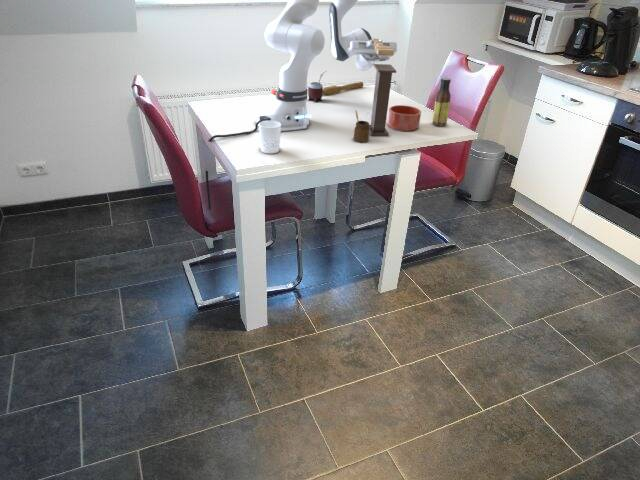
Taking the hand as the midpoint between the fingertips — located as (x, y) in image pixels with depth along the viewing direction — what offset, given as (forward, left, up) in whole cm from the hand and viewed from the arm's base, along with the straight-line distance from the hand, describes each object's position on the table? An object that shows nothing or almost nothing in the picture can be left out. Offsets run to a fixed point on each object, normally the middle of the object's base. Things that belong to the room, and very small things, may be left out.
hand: (376, 41), depth 202 cm
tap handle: (+13, +37, -32) cm, 51 cm away
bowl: (+5, -17, -32) cm, 36 cm away
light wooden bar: (-4, -7, -2) cm, 8 cm away
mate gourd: (-8, +30, -32) cm, 44 cm away
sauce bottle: (+21, -23, -32) cm, 45 cm away
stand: (-10, -17, -32) cm, 37 cm away
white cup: (-59, -13, -32) cm, 69 cm away
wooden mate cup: (-22, -21, -32) cm, 44 cm away
